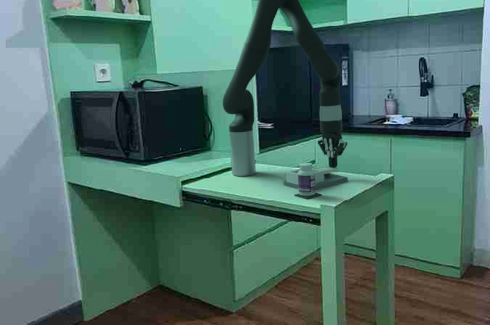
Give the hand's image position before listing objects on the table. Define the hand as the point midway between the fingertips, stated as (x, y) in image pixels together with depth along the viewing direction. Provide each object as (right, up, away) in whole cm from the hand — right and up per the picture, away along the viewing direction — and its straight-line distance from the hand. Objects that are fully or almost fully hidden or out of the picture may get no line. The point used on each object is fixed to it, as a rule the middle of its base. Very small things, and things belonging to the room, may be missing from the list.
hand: (333, 167), depth 158 cm
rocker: (-3, -1, -1) cm, 3 cm away
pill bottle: (-12, -8, -18) cm, 23 cm away
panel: (-7, -5, -3) cm, 9 cm away
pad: (-11, -9, -18) cm, 23 cm away
